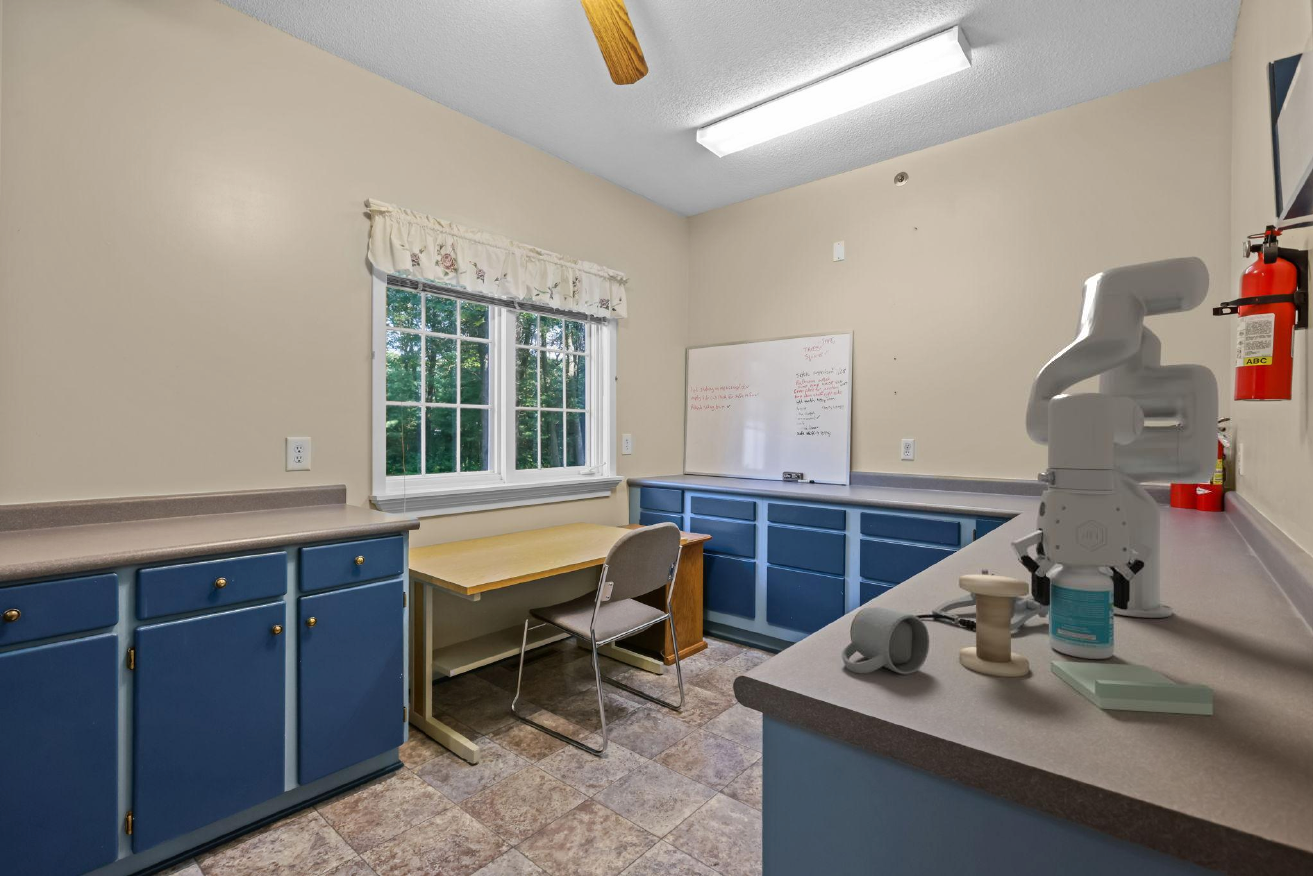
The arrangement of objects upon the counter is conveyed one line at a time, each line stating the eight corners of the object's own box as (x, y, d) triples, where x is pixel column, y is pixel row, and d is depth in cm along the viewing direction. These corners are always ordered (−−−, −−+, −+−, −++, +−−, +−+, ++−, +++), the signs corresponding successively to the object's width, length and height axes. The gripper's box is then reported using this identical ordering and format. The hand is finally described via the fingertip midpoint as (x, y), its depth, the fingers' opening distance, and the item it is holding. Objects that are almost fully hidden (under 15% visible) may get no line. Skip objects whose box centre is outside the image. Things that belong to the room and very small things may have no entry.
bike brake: (981, 599, 108) (904, 634, 99) (977, 563, 108) (900, 594, 99) (1061, 621, 96) (983, 662, 87) (1058, 580, 96) (979, 617, 87)
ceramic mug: (885, 650, 85) (884, 597, 85) (931, 669, 78) (930, 612, 78) (828, 663, 81) (826, 608, 81) (871, 684, 74) (870, 624, 74)
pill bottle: (1125, 663, 80) (1125, 561, 80) (1063, 659, 81) (1063, 559, 81) (1096, 644, 87) (1096, 550, 87) (1040, 641, 89) (1039, 549, 89)
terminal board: (1050, 670, 77) (1050, 648, 77) (1145, 675, 76) (1145, 652, 76) (1100, 708, 67) (1100, 683, 67) (1212, 715, 65) (1212, 689, 65)
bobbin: (950, 652, 84) (950, 573, 84) (1012, 655, 83) (1012, 575, 83) (972, 675, 76) (971, 587, 76) (1040, 678, 75) (1040, 590, 75)
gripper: (1025, 482, 82) (1024, 609, 81) (1167, 485, 79) (1167, 616, 79) (1002, 479, 89) (1001, 595, 89) (1131, 482, 86) (1131, 601, 86)
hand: (1079, 605), depth 84 cm, fingers open, 9 cm apart
